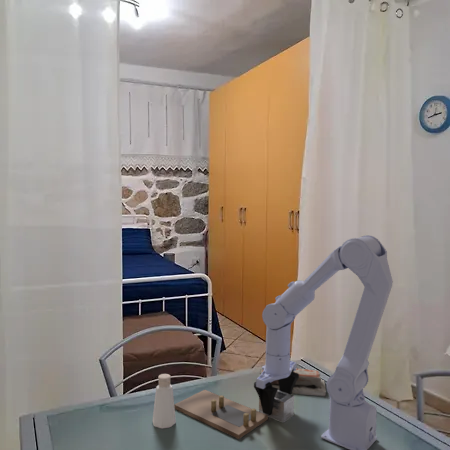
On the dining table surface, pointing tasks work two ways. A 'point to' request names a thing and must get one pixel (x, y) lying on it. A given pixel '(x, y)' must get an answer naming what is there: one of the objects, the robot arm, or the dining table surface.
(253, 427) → the walnut tray
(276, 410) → the block
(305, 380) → the packaged product
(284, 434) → the dining table surface
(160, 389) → the salt shaker
